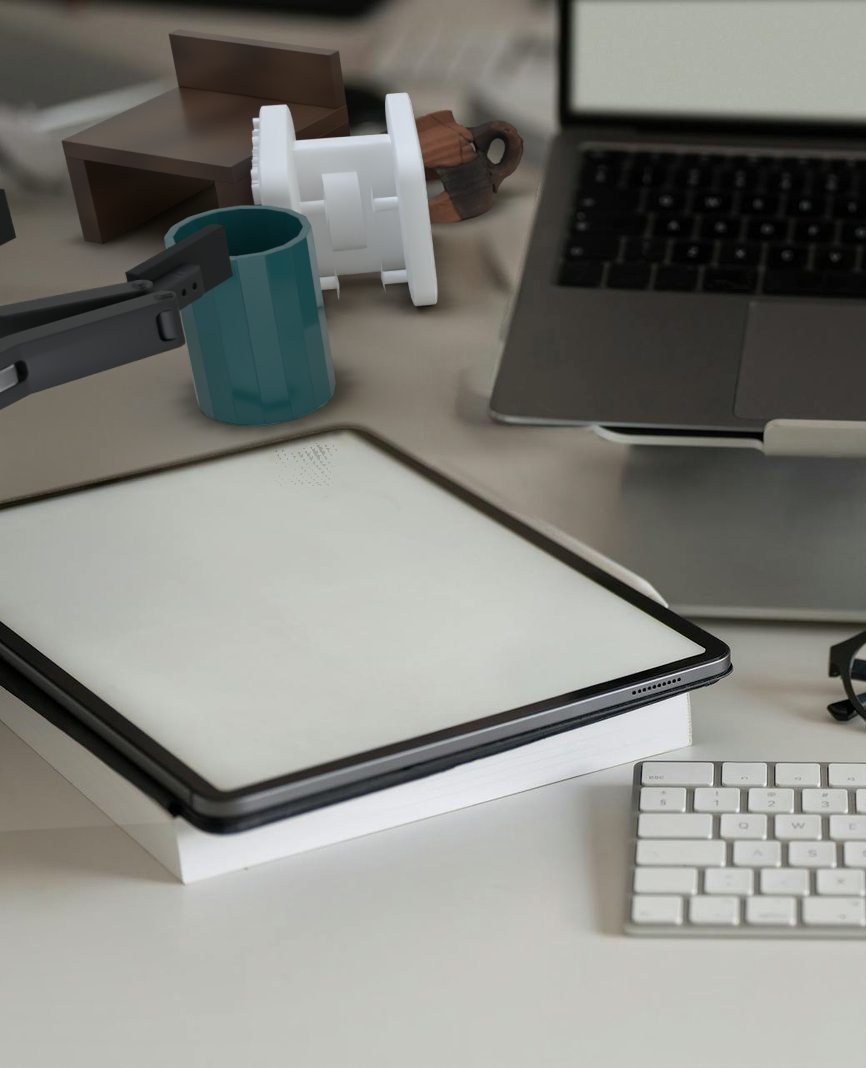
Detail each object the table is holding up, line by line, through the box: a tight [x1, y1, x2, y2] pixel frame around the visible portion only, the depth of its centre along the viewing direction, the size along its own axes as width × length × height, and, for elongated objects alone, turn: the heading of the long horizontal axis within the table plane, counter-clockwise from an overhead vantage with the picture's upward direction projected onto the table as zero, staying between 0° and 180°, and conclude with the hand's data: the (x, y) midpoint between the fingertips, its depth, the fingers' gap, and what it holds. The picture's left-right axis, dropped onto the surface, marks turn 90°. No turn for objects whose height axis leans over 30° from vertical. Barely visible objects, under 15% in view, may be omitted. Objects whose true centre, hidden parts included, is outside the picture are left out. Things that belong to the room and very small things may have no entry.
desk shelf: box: [61, 29, 351, 245], centre depth 123 cm, size 14×14×12 cm
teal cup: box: [163, 205, 337, 427], centre depth 100 cm, size 8×8×11 cm
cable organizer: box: [251, 92, 438, 307], centre depth 114 cm, size 15×11×12 cm
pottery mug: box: [379, 109, 525, 224], centre depth 129 cm, size 12×10×8 cm
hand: (111, 230), depth 87 cm, fingers open, 13 cm apart
